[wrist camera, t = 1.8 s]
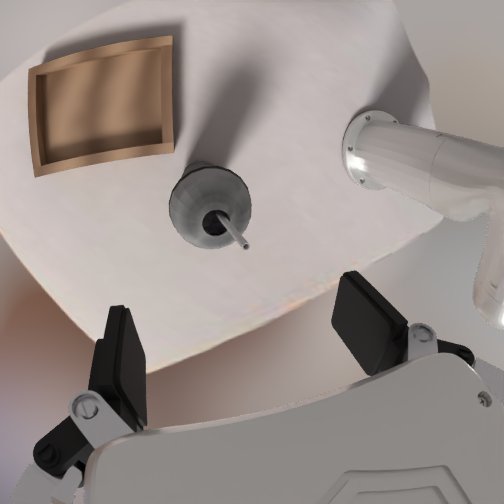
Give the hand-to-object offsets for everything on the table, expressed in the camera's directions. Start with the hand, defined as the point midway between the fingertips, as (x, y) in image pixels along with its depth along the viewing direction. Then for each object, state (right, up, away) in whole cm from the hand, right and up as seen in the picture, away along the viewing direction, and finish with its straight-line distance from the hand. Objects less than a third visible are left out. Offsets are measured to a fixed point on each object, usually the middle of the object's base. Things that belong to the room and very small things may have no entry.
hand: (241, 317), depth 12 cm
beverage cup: (-6, +12, +22) cm, 26 cm away
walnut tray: (-18, +20, +14) cm, 30 cm away
